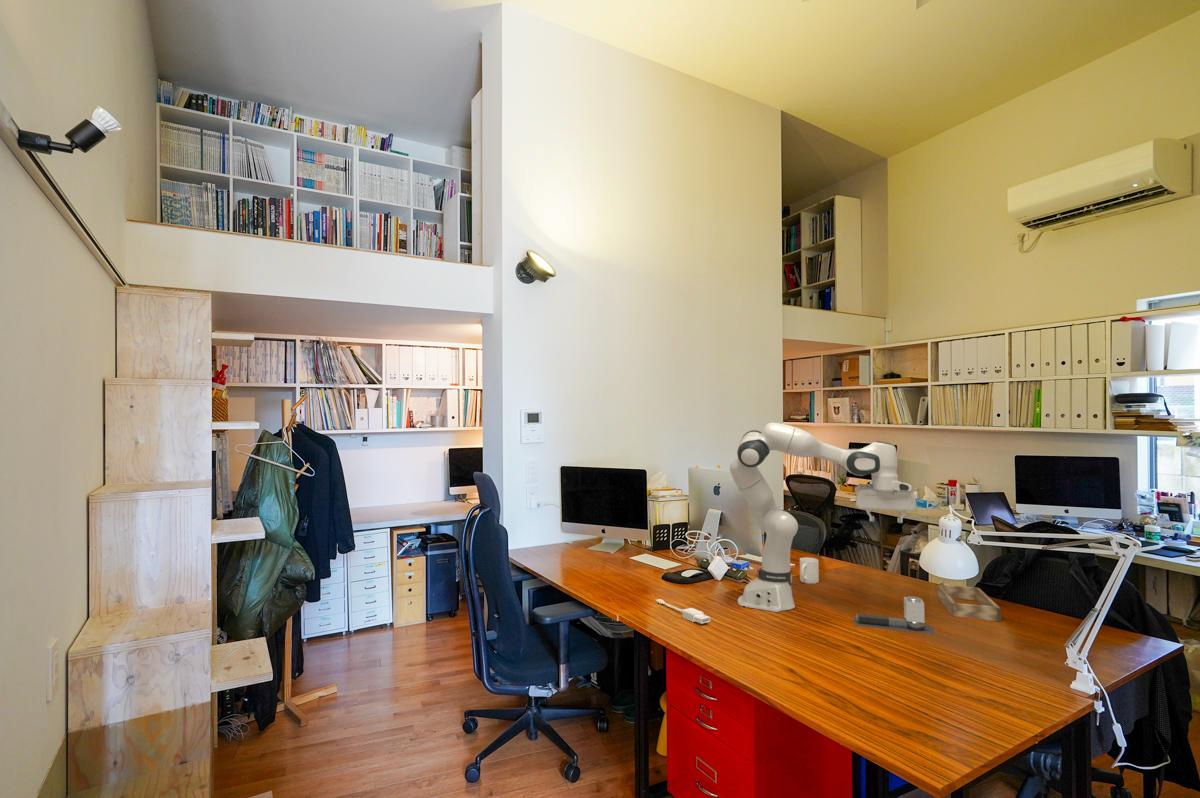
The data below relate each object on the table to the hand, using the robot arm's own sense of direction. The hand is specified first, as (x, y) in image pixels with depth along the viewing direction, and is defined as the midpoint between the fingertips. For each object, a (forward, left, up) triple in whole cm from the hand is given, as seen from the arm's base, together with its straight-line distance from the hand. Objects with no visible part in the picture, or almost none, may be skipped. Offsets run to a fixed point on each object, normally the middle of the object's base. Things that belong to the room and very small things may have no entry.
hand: (885, 521), depth 212 cm
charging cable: (-75, -15, -38) cm, 85 cm away
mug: (-28, +48, -37) cm, 67 cm away
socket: (+8, -4, -34) cm, 35 cm away
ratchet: (0, -4, -37) cm, 37 cm away
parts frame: (+32, +30, -37) cm, 57 cm away
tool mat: (+1, -4, -37) cm, 37 cm away
